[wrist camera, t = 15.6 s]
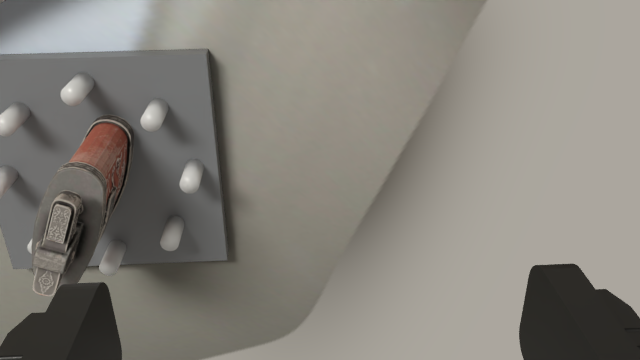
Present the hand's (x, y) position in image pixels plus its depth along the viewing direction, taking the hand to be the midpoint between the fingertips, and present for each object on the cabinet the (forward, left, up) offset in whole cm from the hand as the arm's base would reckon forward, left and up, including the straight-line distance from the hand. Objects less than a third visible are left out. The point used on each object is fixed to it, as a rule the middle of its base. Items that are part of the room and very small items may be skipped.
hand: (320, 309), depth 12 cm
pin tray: (+10, -13, -28) cm, 33 cm away
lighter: (+10, -13, -27) cm, 32 cm away
